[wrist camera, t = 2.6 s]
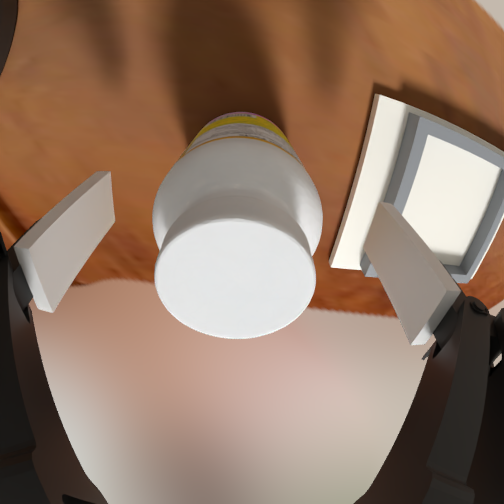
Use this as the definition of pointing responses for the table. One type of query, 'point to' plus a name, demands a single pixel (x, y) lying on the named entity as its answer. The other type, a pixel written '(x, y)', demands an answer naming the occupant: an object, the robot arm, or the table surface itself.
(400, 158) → the board
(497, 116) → the table surface
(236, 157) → the supplement bottle
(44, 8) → the table surface
